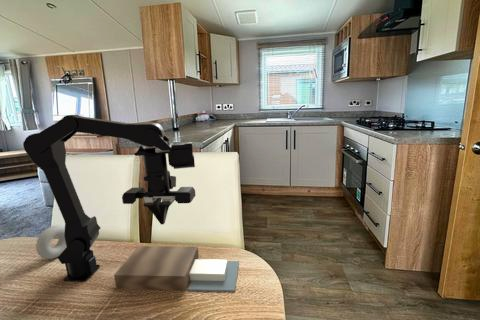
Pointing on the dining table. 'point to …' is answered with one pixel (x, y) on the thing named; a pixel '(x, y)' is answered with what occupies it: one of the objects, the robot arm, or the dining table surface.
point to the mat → (218, 285)
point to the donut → (45, 240)
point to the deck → (157, 268)
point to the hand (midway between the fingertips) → (162, 223)
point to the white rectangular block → (209, 270)
